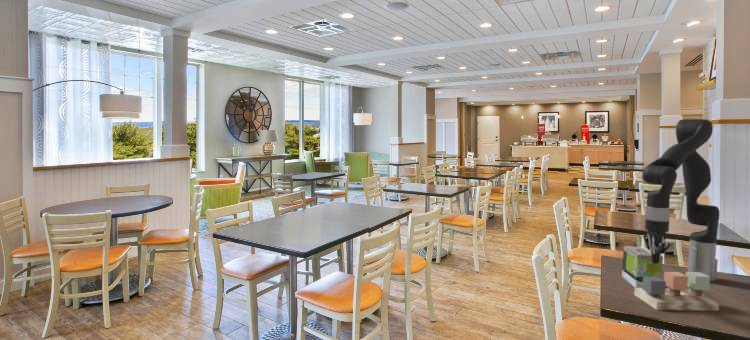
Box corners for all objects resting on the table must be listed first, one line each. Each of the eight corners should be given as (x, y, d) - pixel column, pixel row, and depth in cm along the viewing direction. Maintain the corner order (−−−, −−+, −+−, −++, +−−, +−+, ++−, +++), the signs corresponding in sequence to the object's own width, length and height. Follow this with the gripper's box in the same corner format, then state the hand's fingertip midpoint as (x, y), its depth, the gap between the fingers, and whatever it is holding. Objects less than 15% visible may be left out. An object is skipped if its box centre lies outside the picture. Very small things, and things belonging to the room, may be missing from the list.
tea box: (662, 290, 169) (664, 256, 167) (635, 289, 171) (636, 254, 169) (645, 278, 183) (647, 246, 182) (621, 276, 185) (622, 245, 184)
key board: (690, 295, 163) (692, 278, 163) (718, 310, 150) (719, 292, 149) (634, 294, 165) (635, 278, 164) (656, 309, 151) (657, 291, 150)
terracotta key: (677, 284, 159) (678, 271, 158) (687, 289, 154) (687, 276, 153) (663, 284, 159) (664, 271, 159) (672, 289, 154) (673, 276, 154)
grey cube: (656, 289, 160) (656, 276, 159) (664, 294, 154) (665, 281, 154) (642, 289, 160) (643, 276, 159) (650, 294, 155) (651, 281, 154)
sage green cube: (698, 285, 159) (699, 272, 158) (709, 290, 153) (710, 276, 153) (685, 284, 159) (685, 271, 158) (694, 290, 154) (695, 276, 153)
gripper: (679, 222, 148) (676, 268, 149) (656, 214, 161) (654, 257, 163) (658, 222, 148) (655, 268, 150) (636, 214, 161) (634, 257, 163)
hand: (654, 262), depth 156 cm, fingers closed
